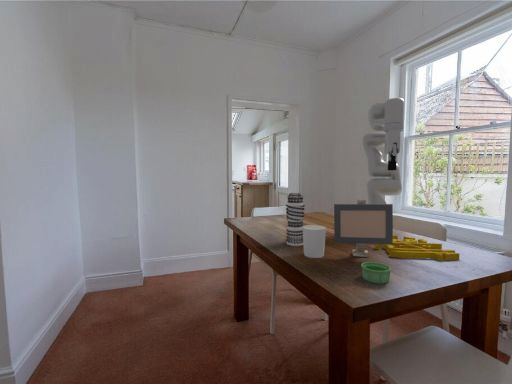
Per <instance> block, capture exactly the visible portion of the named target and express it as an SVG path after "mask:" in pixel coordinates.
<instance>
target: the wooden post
mask: <svg viewBox="0 0 512 384" xmlns="http://www.w3.org/2000/svg"><path fill="white" fill-rule="evenodd" d="M366 201H367V200H366V199H365V198H364V199H357V200H356V204H367V202H366ZM355 244H356V247H355V248H356V249H352V251H351V252H352V253H351V254H352V256H353V257H361V258H362V257H363V258H365V257H366V258H369V257H370V256H369V251H368V249H367V250H366V244H357V243H355Z"/></svg>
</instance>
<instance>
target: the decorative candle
mask: <svg viewBox="0 0 512 384" xmlns="http://www.w3.org/2000/svg"><path fill="white" fill-rule="evenodd" d="M286 197H287V202H286V203H287V204H285V207H286V208H285V211H286V212H285V213H286V221H287V225H286V226H287V228H286V239H285V241H286V244H287V245H288V246H292V247H299V246H303V229H302V227H303V226H304V221H305V219H304V218H305V215H304V214H305V211H304V210H305V208H304V207H305V206H306V205H305V204H304V196H303V195H302V193H301V192H290V193H288V195H287V196H286Z"/></svg>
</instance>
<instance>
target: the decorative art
mask: <svg viewBox="0 0 512 384" xmlns="http://www.w3.org/2000/svg"><path fill="white" fill-rule="evenodd" d="M381 249H383V250H385V251H387V253H388V254H389V257H391V258H398V259H420V258H430V259H429V260H437V261H439V262H444V261H456V260H460V255H461V254H460V253H458V252H456V250H452V249H443V244H442V243H436V242H431V243H430V242H428V241H427V240H425V238H418V239H417V240H416V238H415V237H409V236H405V235H403V240H400V239H399V236H398V235H394V234H393V245H385V244H374V250H376V251H377V250H381Z"/></svg>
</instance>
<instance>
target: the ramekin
mask: <svg viewBox="0 0 512 384" xmlns="http://www.w3.org/2000/svg"><path fill="white" fill-rule="evenodd" d="M360 267H361V275H362V278H363V280H364V281H366V282H369V283H372V284H387V283H389V281H390V277H391V271H392V267H391V265H388V264H386V263H382V262H377V261H364V262H362V263H361V265H360Z"/></svg>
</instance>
